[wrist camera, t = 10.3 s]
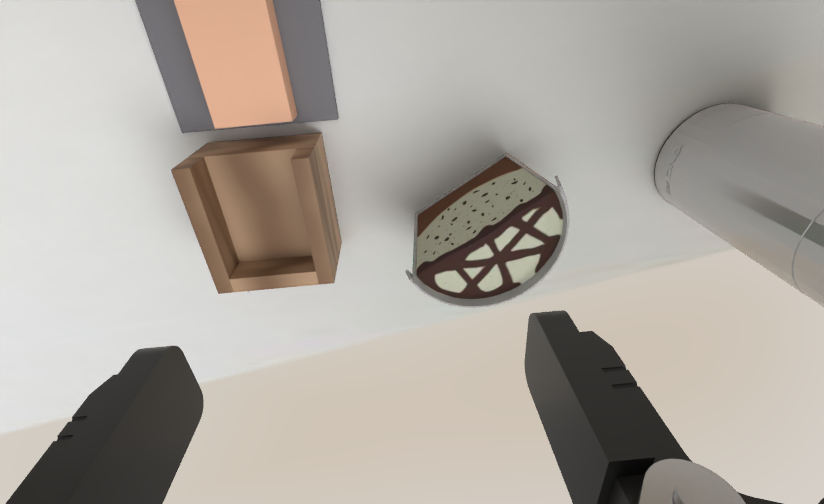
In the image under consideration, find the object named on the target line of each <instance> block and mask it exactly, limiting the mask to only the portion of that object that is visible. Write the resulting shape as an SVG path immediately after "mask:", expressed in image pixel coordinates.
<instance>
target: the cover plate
mask: <svg viewBox="0 0 824 504" xmlns="http://www.w3.org/2000/svg"><path fill="white" fill-rule="evenodd" d="M174 3H175V6H176V9H177V12H178V15H179V18H180V21H181V24H182V28H183V31H184V34H185V37H186V40H187V43H188V46H189V49H190V52H191V56H192V59H193V62H194V65H195V68H196V71H197V74H198V77H199V80H200V84H201V87H202V90H203V93H204V96H205V99H206V102H207V105H208V108H209V112H210V115H211V118H212V121H213V124H214V127H215V129H218V128H229V127H239V126H249V125H260V124H270V123H280V122H291V121H293V120H294V119H295V118H296V117H297V111H296V106H295V101H294V97H293V92H292V87H291V83H290V78H289V74H288V69H287V64H286V60H285V55H284V51H283V46H282V41H281V37H280V32H279V28H278V23H277V18H276V14H275V9H274V5H273V0H174Z"/></svg>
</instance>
